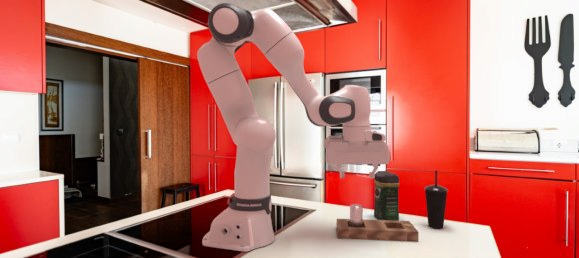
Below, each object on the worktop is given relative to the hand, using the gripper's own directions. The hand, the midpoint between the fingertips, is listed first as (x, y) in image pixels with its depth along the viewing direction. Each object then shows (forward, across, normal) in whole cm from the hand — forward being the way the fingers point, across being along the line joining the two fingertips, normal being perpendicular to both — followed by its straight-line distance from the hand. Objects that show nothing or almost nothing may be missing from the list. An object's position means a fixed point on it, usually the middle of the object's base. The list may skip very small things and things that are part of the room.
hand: (357, 177), depth 98 cm
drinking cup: (+20, +28, +12) cm, 37 cm away
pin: (+18, 0, 0) cm, 18 cm away
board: (+19, +5, 0) cm, 20 cm away
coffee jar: (+20, +12, +17) cm, 29 cm away
